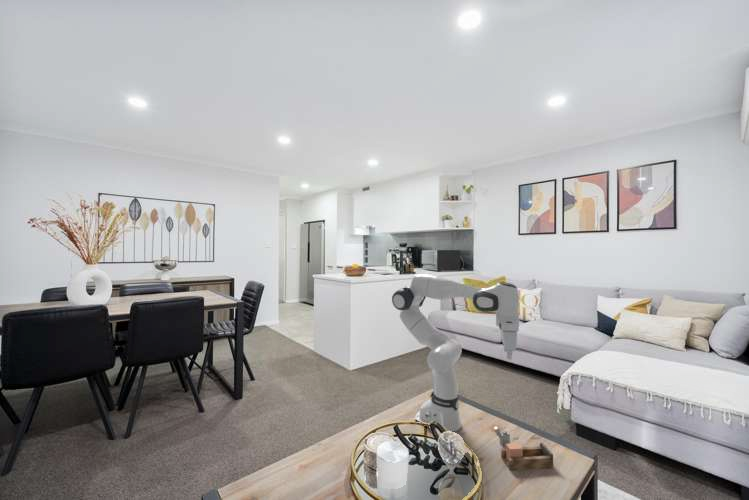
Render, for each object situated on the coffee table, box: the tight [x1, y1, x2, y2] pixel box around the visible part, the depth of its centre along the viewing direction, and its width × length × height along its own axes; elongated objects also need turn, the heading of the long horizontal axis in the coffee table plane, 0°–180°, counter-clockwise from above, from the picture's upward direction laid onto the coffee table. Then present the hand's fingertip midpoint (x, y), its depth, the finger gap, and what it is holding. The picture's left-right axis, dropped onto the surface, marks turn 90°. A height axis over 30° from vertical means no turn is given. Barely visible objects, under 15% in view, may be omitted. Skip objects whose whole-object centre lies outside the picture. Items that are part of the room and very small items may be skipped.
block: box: [505, 442, 523, 461], centre depth 120 cm, size 5×3×6 cm
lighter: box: [493, 425, 511, 446], centre depth 133 cm, size 7×2×8 cm, turn 107°
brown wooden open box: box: [500, 442, 554, 472], centre depth 121 cm, size 17×7×5 cm, turn 93°
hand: (507, 354), depth 128 cm, fingers open, 8 cm apart
